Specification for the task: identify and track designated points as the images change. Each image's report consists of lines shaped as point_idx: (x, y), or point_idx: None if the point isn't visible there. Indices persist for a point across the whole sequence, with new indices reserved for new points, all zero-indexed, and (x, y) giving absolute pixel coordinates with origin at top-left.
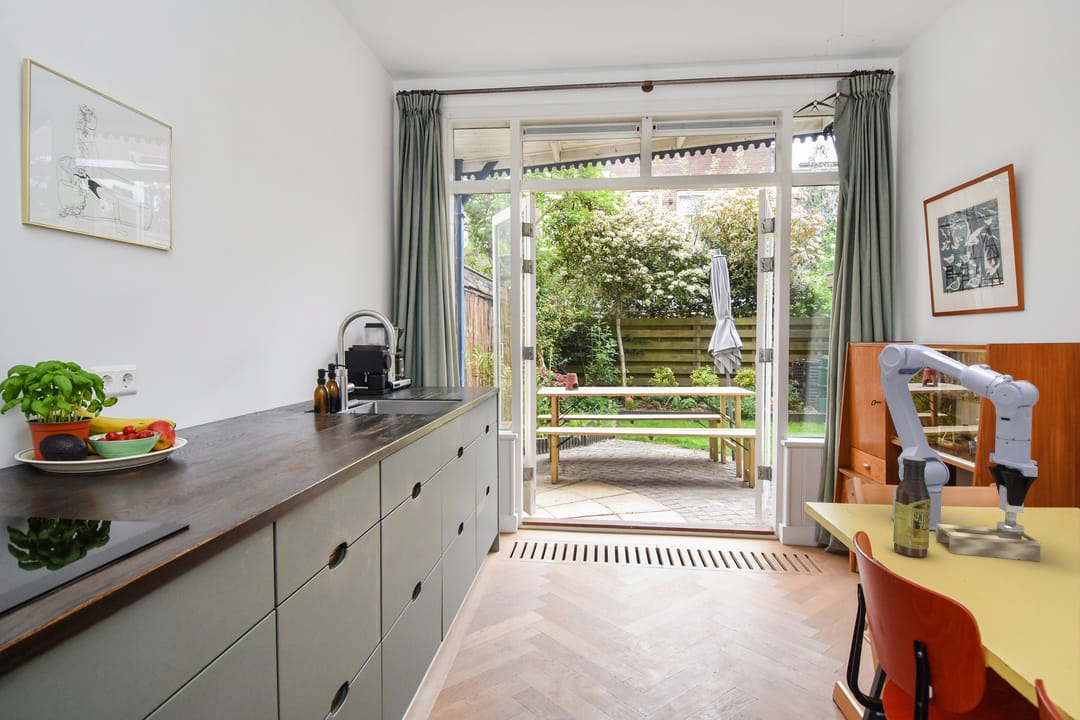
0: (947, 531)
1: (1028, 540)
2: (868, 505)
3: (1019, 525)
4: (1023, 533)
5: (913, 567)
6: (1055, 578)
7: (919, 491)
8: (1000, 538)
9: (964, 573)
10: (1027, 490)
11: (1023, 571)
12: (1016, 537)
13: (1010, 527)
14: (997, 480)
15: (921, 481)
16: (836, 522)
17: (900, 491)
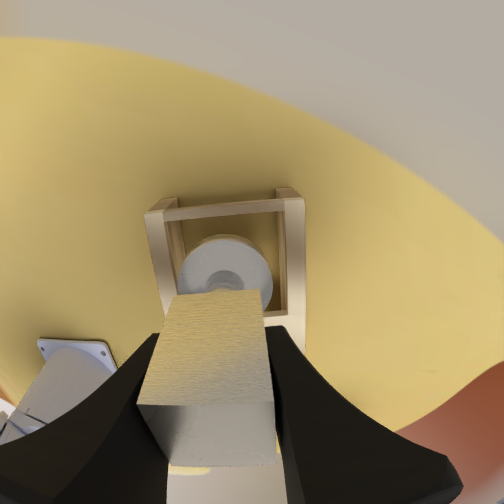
0: None
1: (287, 232)
2: None
3: (216, 254)
4: (252, 242)
5: (384, 421)
6: (415, 209)
7: None
8: (293, 315)
9: (406, 369)
10: (337, 394)
11: (385, 265)
12: (170, 222)
13: (267, 300)
14: (166, 491)
15: None
16: (170, 473)
17: None
